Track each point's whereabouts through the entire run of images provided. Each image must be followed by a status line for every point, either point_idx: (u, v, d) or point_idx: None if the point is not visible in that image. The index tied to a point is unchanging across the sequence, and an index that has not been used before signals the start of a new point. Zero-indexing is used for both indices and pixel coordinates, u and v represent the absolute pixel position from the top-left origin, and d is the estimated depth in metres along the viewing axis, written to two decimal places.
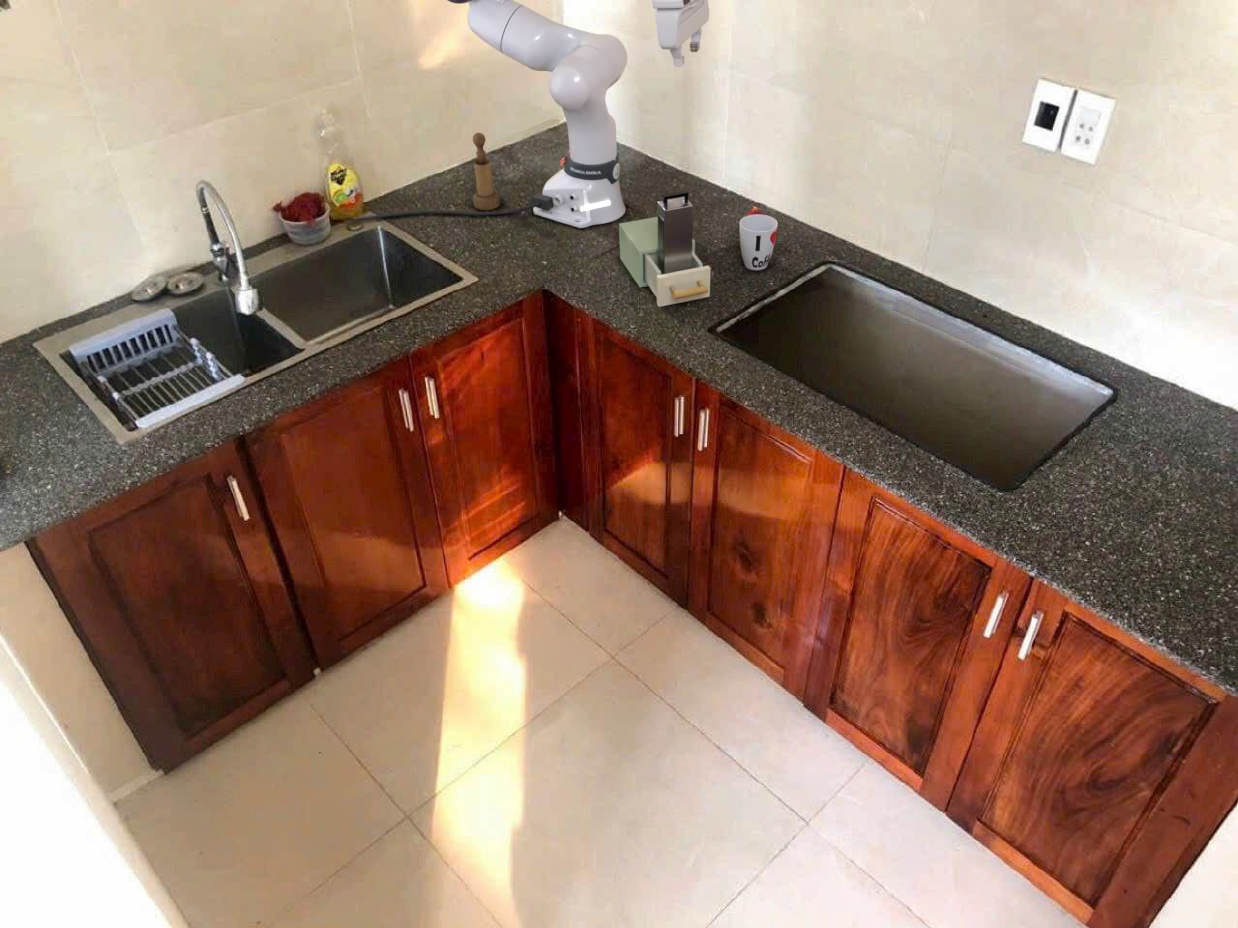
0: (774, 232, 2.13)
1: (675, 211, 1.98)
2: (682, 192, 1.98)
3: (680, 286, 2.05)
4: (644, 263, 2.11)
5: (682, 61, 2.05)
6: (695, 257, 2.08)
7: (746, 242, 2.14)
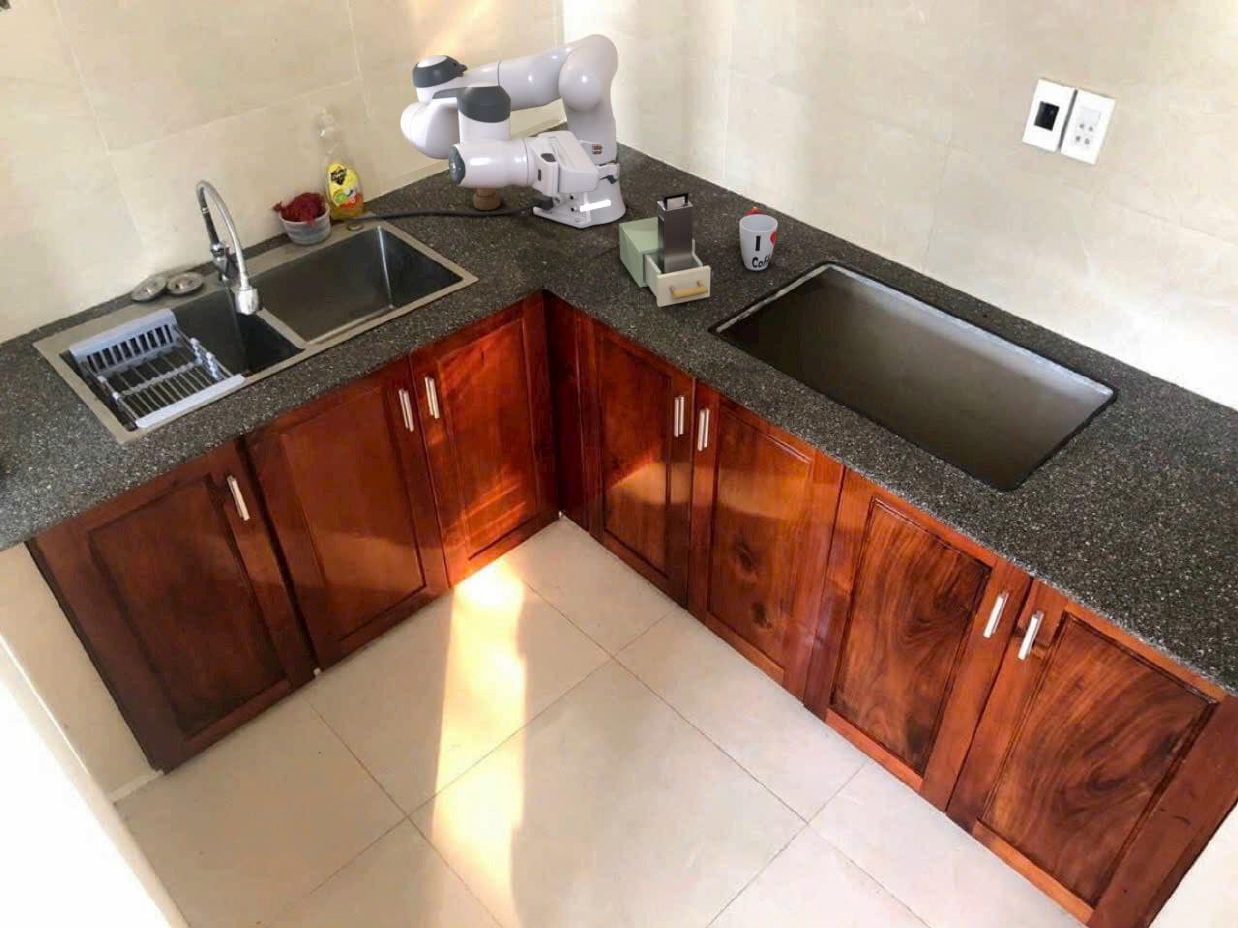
0: (774, 232, 2.13)
1: (675, 211, 1.98)
2: (682, 192, 1.98)
3: (680, 286, 2.05)
4: (644, 263, 2.11)
5: (611, 165, 1.86)
6: (695, 257, 2.08)
7: (746, 242, 2.14)
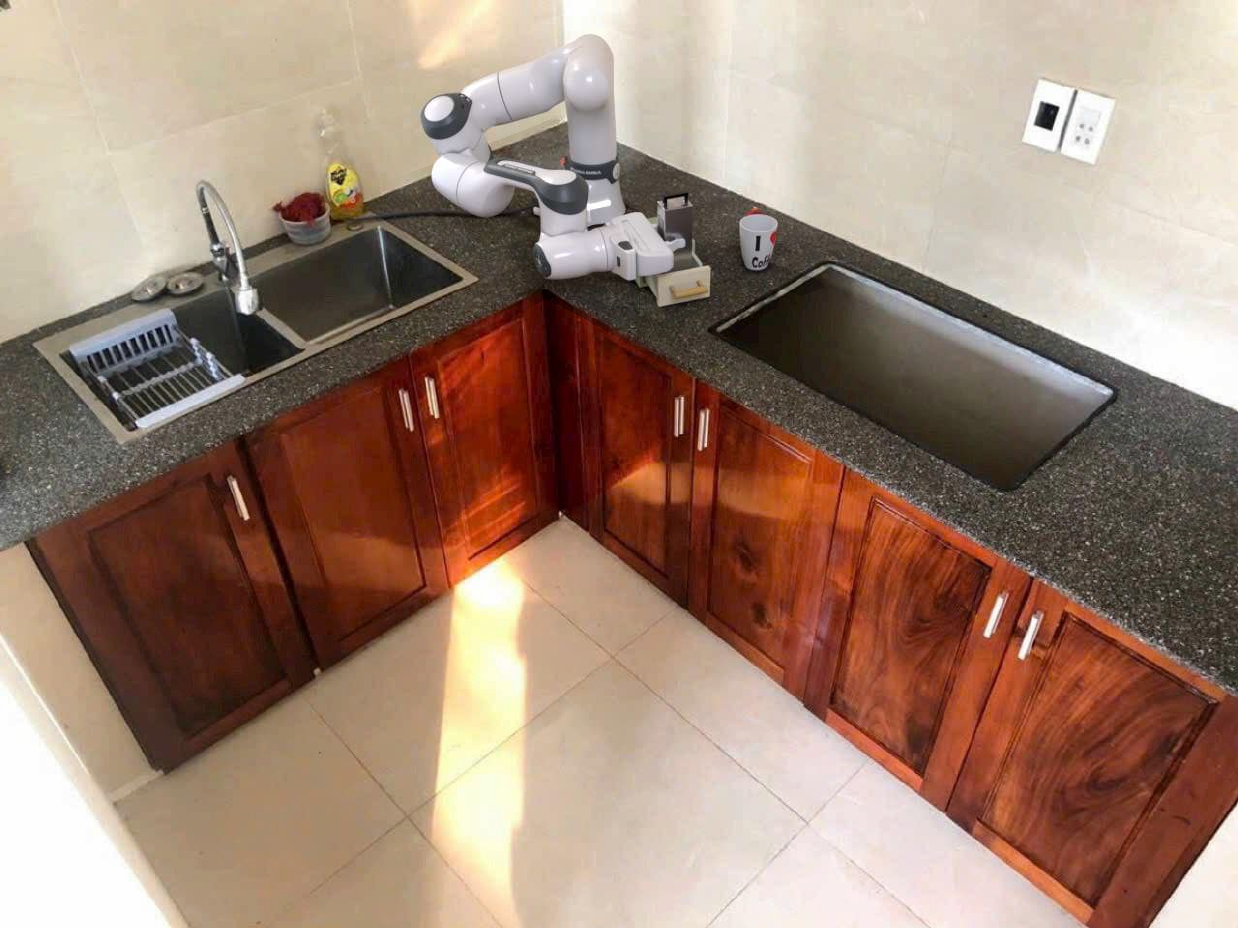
0: (774, 232, 2.13)
1: (674, 210, 1.98)
2: (682, 192, 1.98)
3: (680, 286, 2.05)
4: None
5: (680, 239, 2.01)
6: (695, 257, 2.08)
7: (746, 242, 2.14)
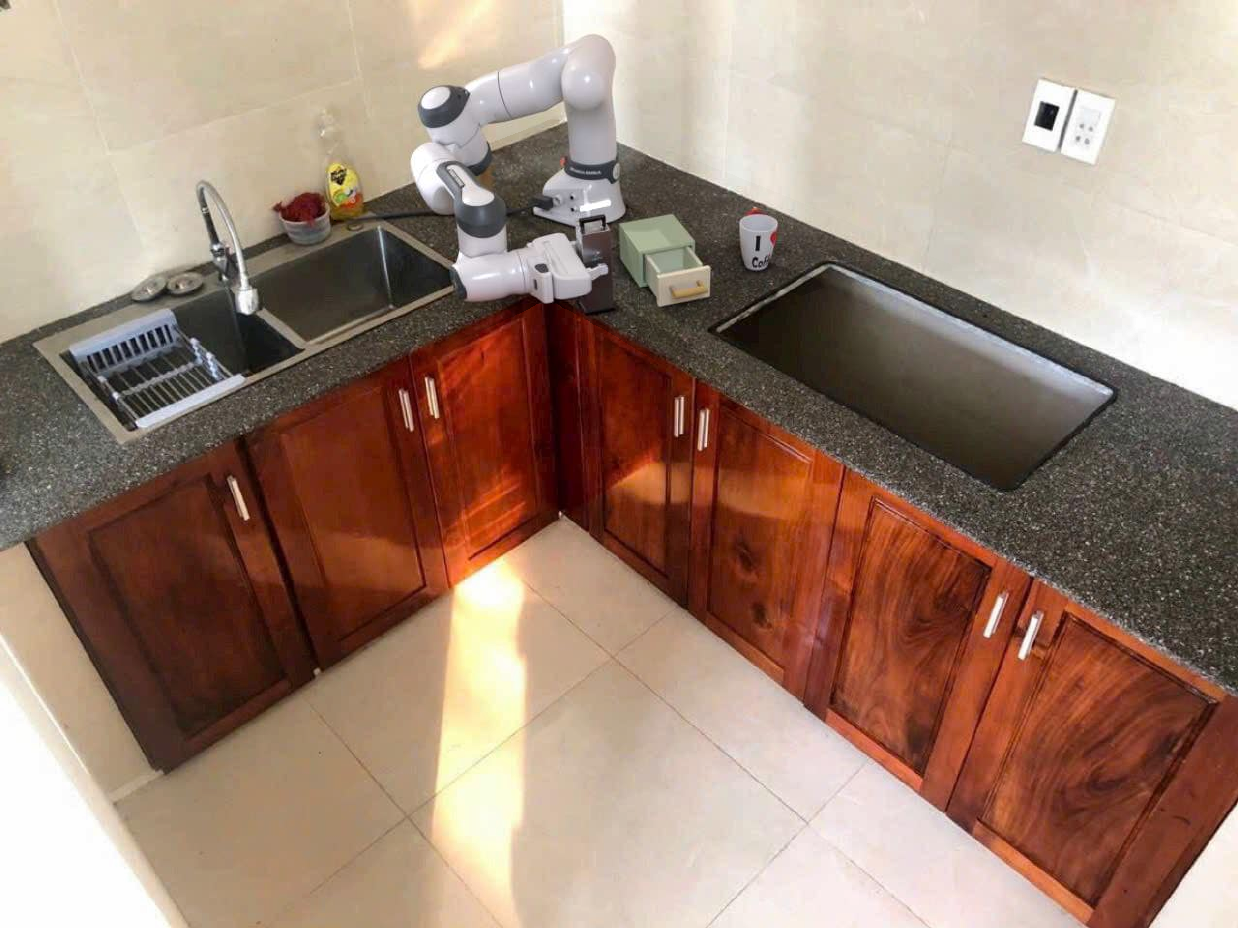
0: (774, 232, 2.13)
1: (592, 235, 1.95)
2: (599, 216, 1.96)
3: (680, 286, 2.05)
4: (644, 263, 2.11)
5: (602, 265, 1.97)
6: (695, 257, 2.08)
7: (746, 242, 2.14)
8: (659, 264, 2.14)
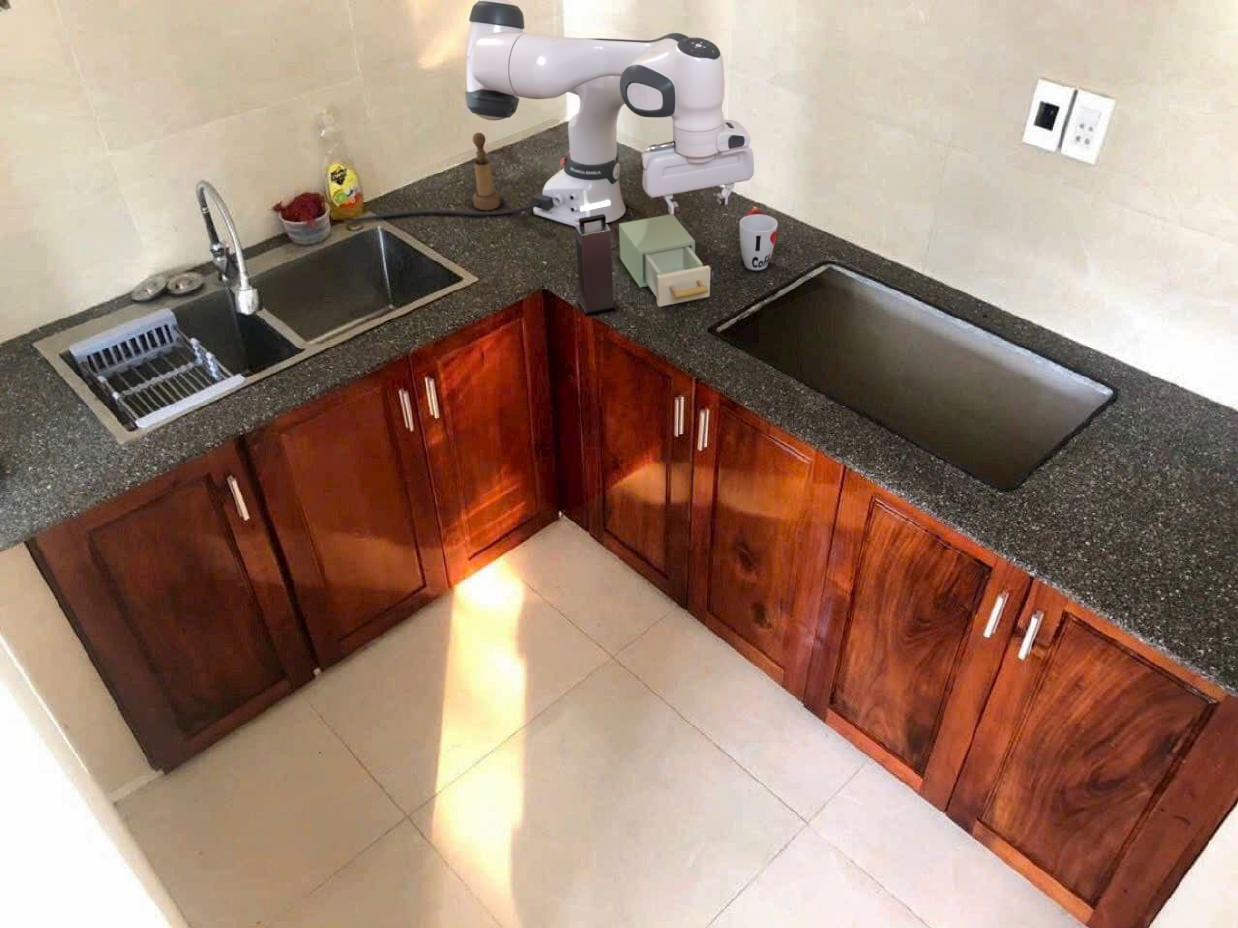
0: (774, 232, 2.13)
1: (592, 235, 1.95)
2: (599, 216, 1.96)
3: (680, 286, 2.05)
4: (644, 263, 2.11)
5: None
6: (695, 257, 2.08)
7: (746, 242, 2.14)
8: (659, 264, 2.14)
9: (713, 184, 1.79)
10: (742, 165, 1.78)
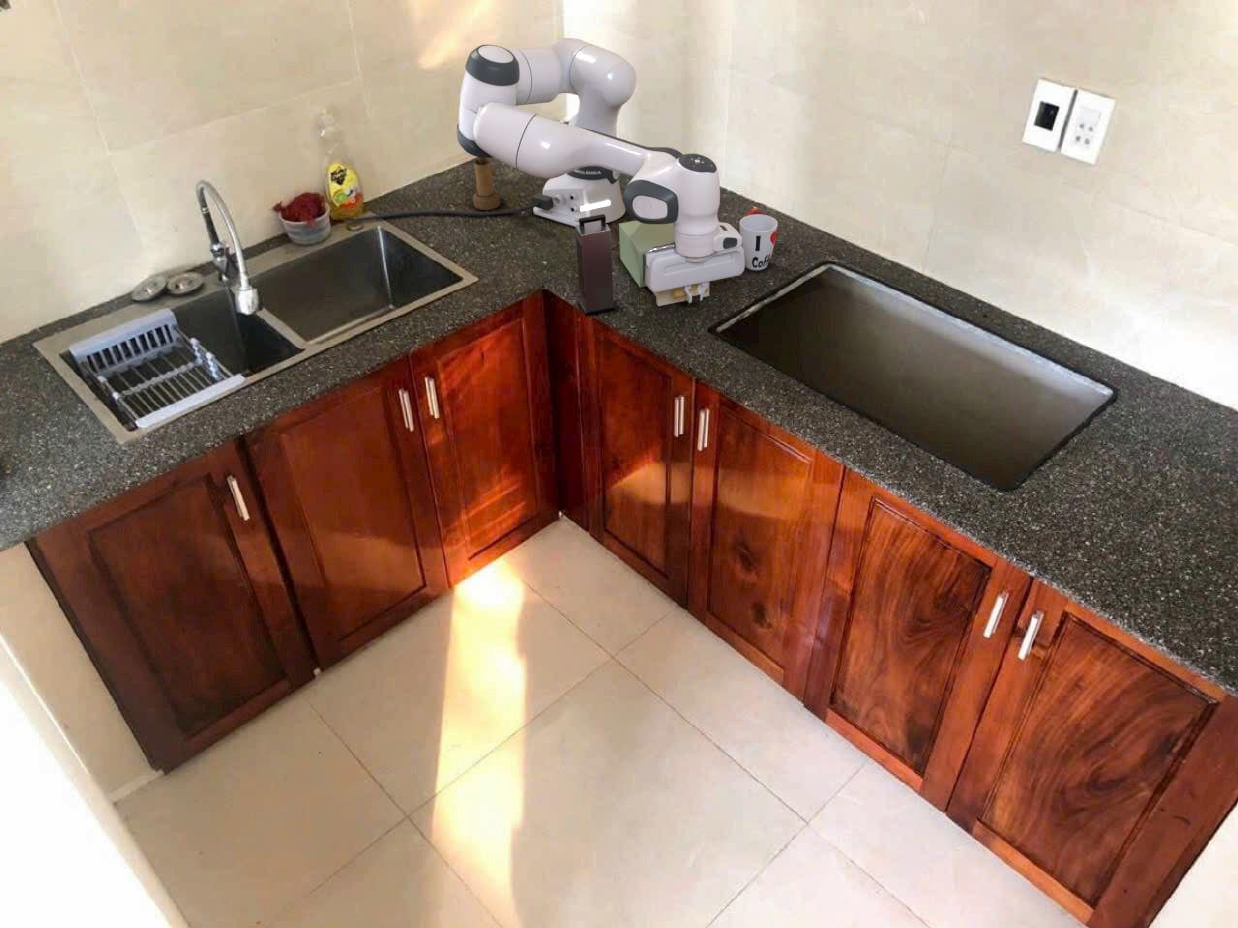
0: (774, 232, 2.13)
1: (592, 235, 1.95)
2: (599, 216, 1.96)
3: None
4: (644, 262, 2.12)
5: None
6: None
7: (746, 242, 2.14)
8: None
9: (708, 279, 1.98)
10: (734, 262, 1.97)
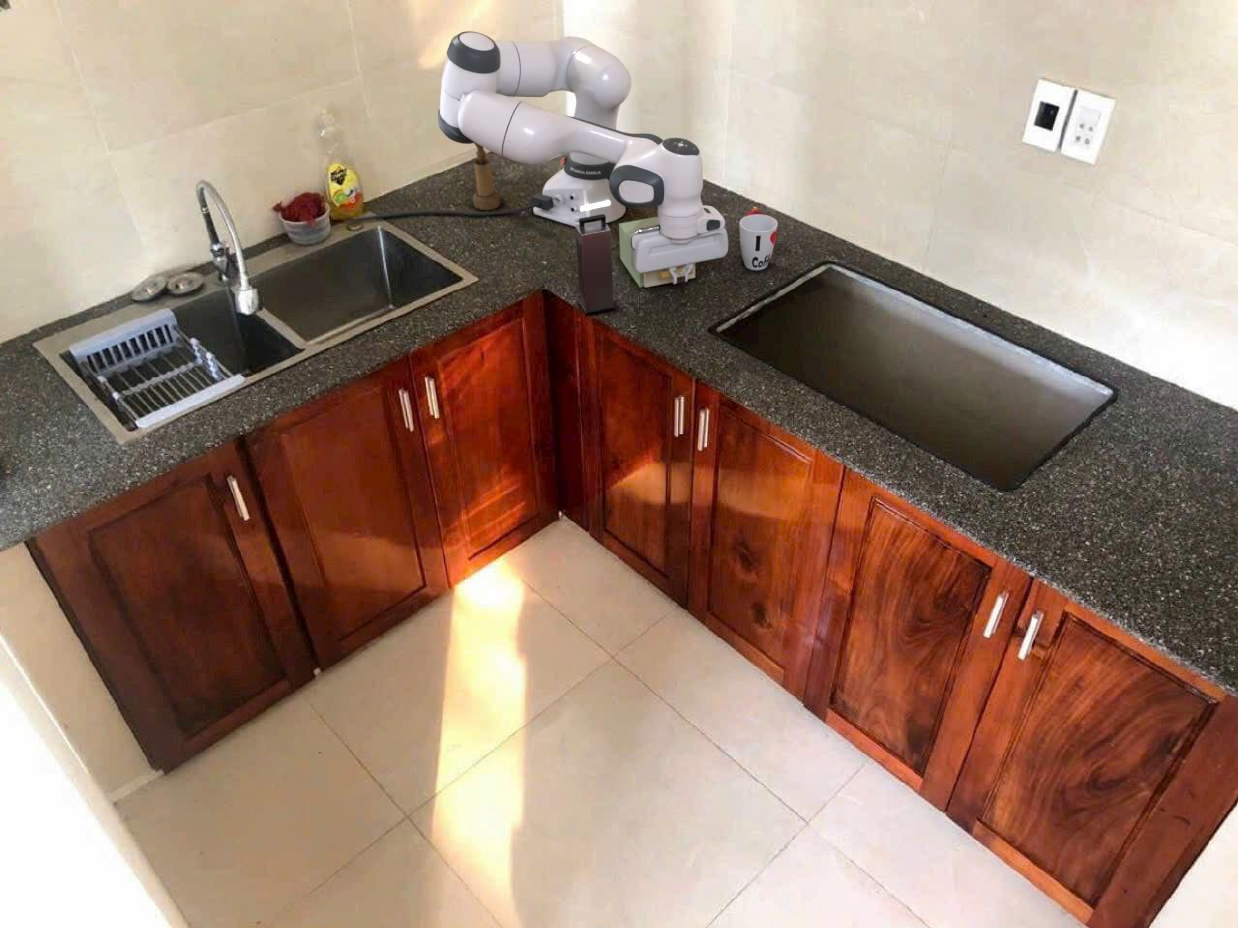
0: (774, 232, 2.13)
1: (592, 235, 1.95)
2: (599, 216, 1.96)
3: (666, 268, 2.11)
4: None
5: None
6: None
7: (746, 242, 2.14)
8: None
9: (693, 260, 2.04)
10: (717, 244, 2.03)
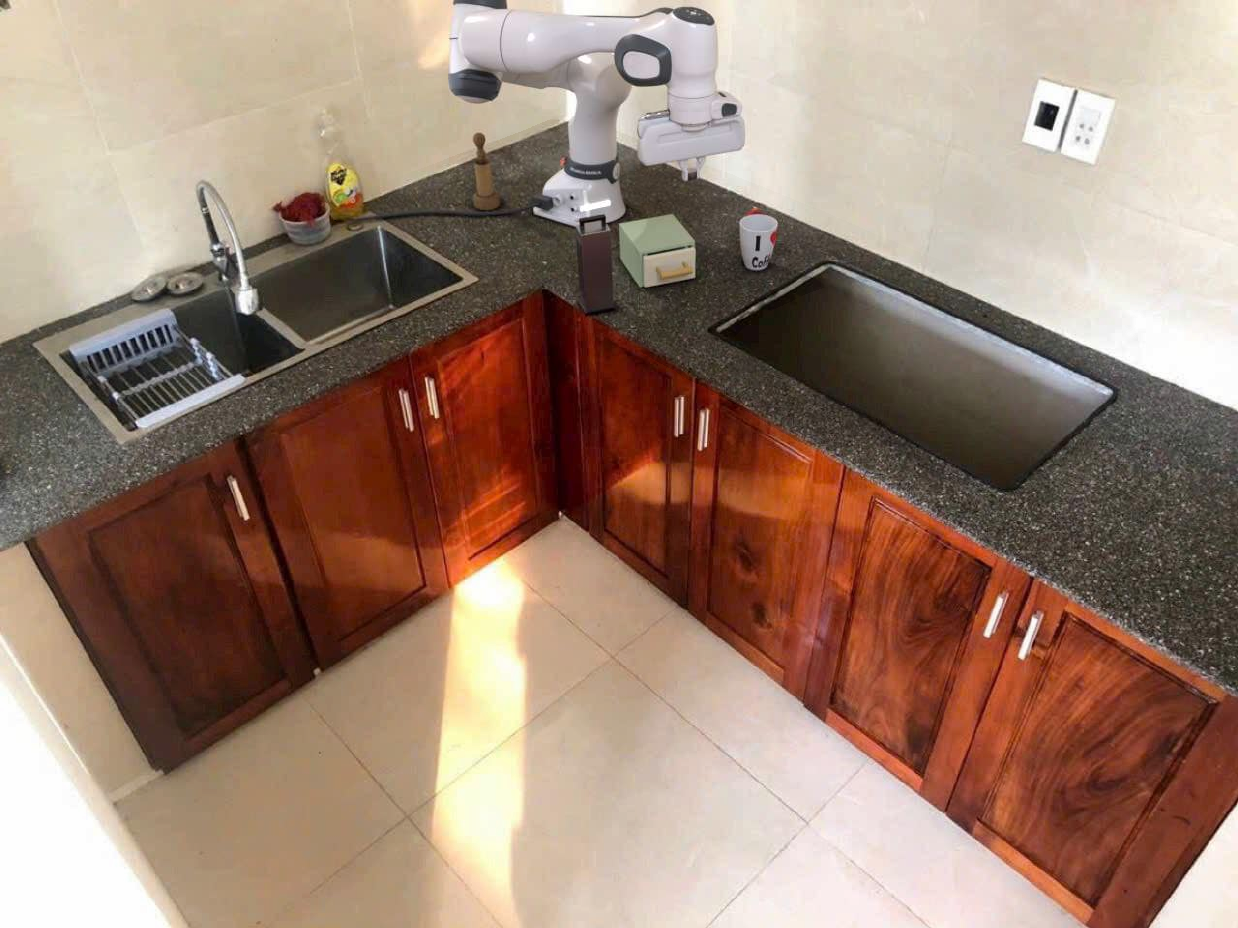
0: (774, 232, 2.13)
1: (592, 235, 1.95)
2: (599, 216, 1.96)
3: (666, 268, 2.11)
4: None
5: None
6: None
7: (746, 242, 2.14)
8: None
9: (706, 153, 1.83)
10: (733, 135, 1.83)
